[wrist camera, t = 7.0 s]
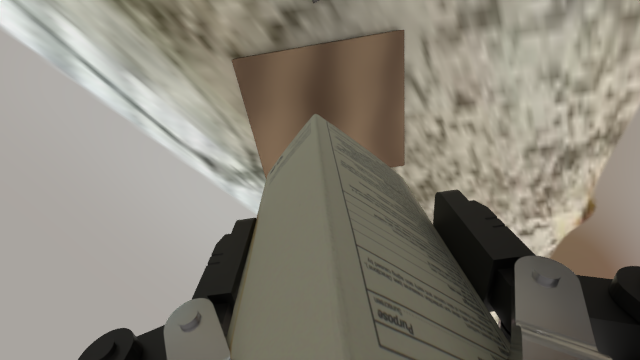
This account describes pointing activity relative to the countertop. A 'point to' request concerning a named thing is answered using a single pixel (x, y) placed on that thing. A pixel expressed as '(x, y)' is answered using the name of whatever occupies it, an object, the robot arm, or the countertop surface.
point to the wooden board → (328, 94)
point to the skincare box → (352, 266)
